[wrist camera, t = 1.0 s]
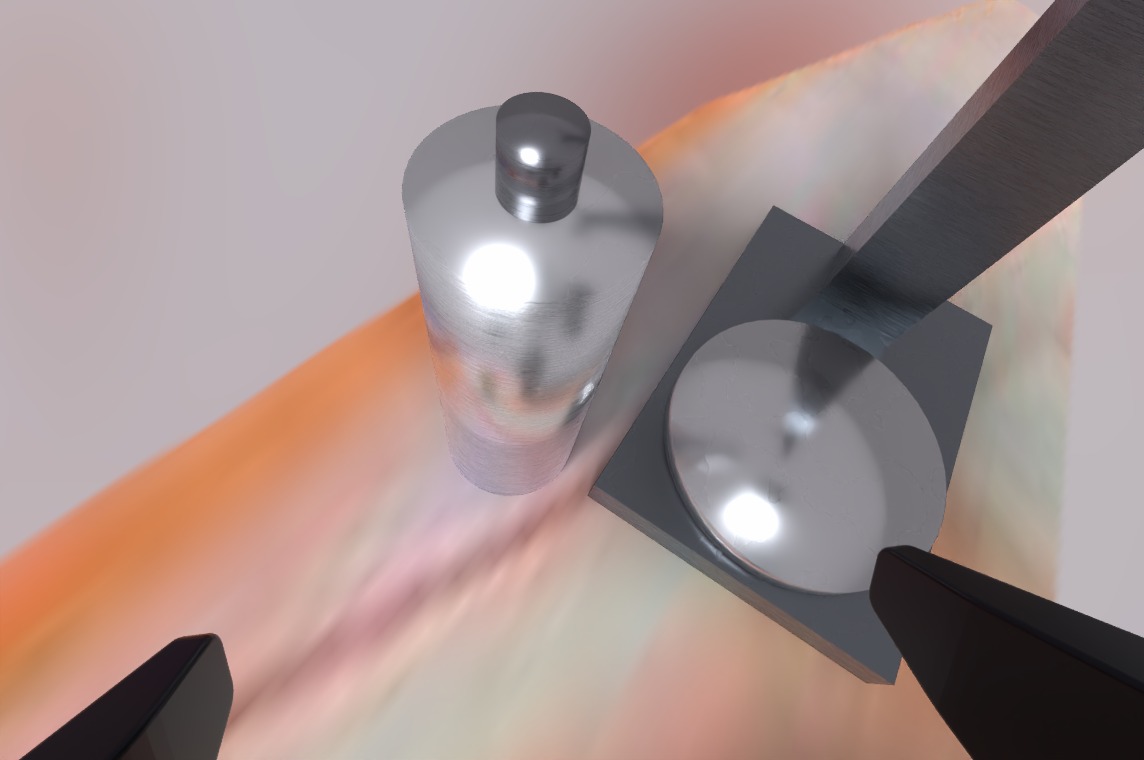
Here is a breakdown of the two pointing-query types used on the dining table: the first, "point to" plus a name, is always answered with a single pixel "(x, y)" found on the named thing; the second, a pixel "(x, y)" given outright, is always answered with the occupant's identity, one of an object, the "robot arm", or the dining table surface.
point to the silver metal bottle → (525, 276)
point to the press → (869, 348)
